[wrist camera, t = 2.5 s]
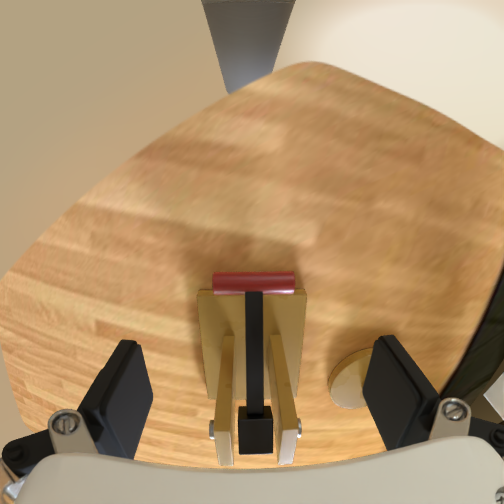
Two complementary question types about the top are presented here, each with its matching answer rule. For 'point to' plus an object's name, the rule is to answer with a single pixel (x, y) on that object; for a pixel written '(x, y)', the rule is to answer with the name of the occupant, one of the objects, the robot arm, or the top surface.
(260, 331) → the switch lever
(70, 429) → the robot arm
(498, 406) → the milk
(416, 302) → the top surface
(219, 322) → the switch bracket
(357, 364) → the table lamp
